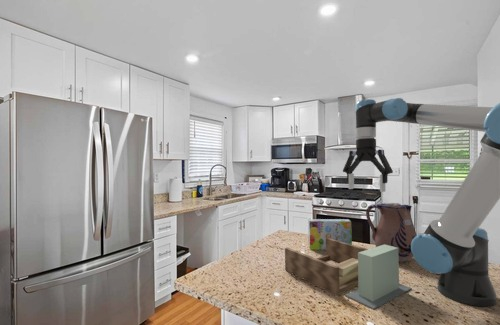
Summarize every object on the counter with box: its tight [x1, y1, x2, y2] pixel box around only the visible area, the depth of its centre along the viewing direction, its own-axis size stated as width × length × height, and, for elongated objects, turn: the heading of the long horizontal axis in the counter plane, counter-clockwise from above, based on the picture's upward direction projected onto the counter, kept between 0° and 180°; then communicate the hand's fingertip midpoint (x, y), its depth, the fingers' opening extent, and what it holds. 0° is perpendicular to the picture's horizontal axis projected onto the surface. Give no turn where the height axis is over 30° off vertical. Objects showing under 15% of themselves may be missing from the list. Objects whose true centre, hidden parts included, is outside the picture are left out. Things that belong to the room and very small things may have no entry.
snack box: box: [307, 218, 353, 251], centre depth 137 cm, size 21×6×15 cm, turn 84°
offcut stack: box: [334, 258, 358, 287], centre depth 100 cm, size 5×16×6 cm, turn 123°
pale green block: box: [357, 244, 400, 301], centre depth 89 cm, size 5×16×14 cm, turn 123°
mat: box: [344, 283, 412, 310], centre depth 89 cm, size 10×23×1 cm, turn 123°
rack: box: [284, 238, 369, 296], centre depth 106 cm, size 26×27×9 cm
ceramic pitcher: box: [365, 202, 418, 262], centre depth 122 cm, size 18×21×25 cm
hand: (366, 190), depth 107 cm, fingers open, 13 cm apart
